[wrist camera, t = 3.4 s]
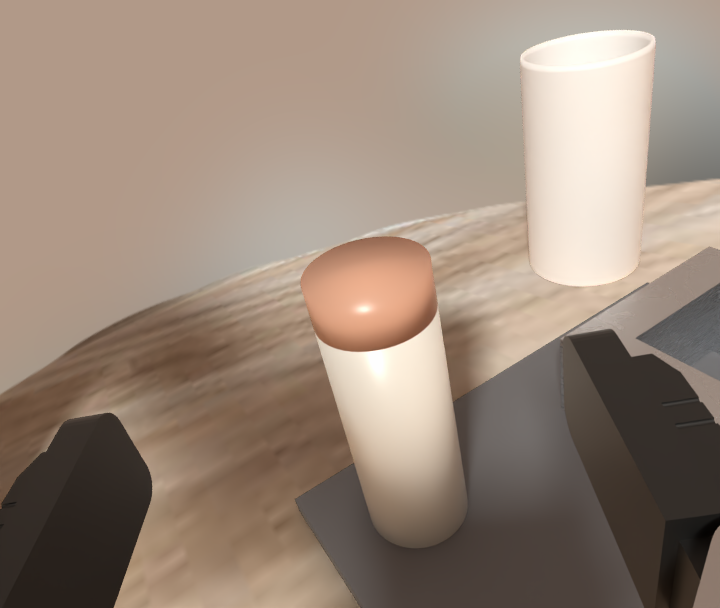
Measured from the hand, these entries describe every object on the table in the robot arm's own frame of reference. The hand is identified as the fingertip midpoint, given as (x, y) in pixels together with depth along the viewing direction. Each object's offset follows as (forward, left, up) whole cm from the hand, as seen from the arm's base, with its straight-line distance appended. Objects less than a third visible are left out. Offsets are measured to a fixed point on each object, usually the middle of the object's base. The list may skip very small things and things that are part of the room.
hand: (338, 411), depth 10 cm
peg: (-10, +6, -18) cm, 21 cm away
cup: (-21, +30, -19) cm, 41 cm away
